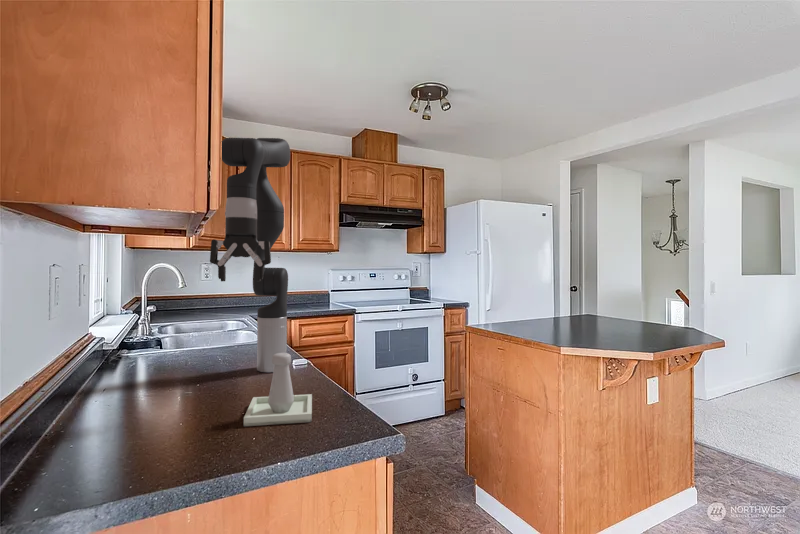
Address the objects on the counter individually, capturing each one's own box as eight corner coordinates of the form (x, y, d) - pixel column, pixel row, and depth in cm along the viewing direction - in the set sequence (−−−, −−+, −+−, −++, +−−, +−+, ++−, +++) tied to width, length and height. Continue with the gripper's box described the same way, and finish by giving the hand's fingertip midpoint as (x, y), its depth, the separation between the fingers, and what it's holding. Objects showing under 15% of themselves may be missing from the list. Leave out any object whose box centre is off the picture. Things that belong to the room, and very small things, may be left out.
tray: (253, 404, 101) (253, 397, 101) (311, 401, 104) (311, 394, 104) (243, 426, 87) (243, 417, 87) (311, 421, 90) (311, 413, 90)
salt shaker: (286, 415, 92) (287, 357, 92) (263, 413, 93) (263, 355, 93) (298, 406, 98) (298, 351, 98) (275, 404, 99) (276, 350, 99)
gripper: (272, 219, 110) (271, 280, 110) (214, 217, 107) (214, 280, 107) (269, 216, 103) (268, 282, 103) (207, 214, 100) (207, 281, 100)
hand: (241, 281), depth 105 cm, fingers open, 8 cm apart
